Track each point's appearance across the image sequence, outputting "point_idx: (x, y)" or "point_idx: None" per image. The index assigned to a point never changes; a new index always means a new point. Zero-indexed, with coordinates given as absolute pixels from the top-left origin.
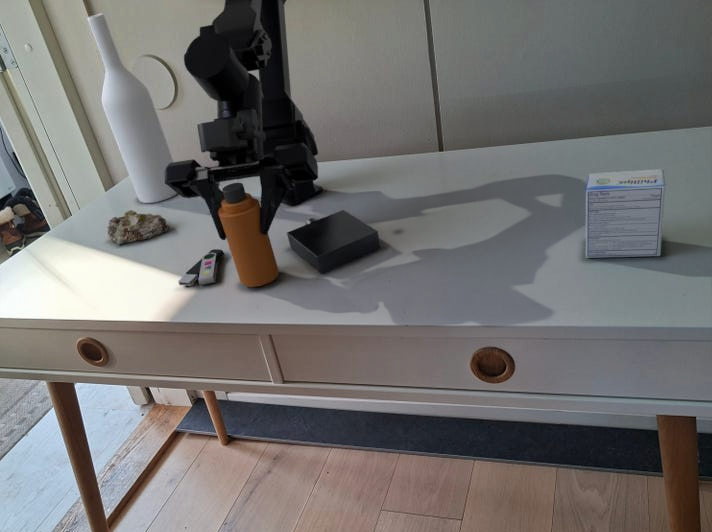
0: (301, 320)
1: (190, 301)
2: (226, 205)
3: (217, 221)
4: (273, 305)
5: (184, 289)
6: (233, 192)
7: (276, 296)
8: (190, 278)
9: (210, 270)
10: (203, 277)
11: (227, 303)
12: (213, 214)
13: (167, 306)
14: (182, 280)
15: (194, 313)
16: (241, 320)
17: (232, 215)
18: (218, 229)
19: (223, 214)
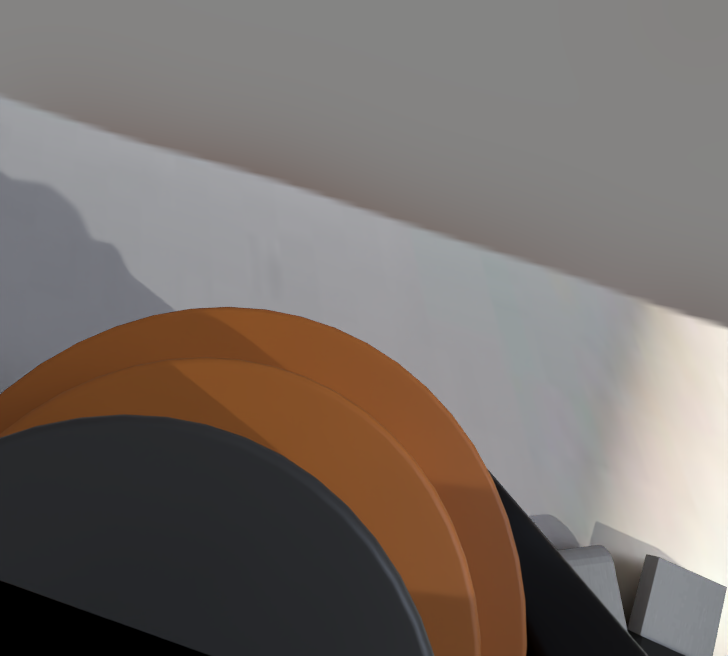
0: (88, 128)
1: (602, 422)
2: (350, 426)
3: (522, 551)
4: (205, 267)
5: (672, 553)
6: (76, 420)
7: None
8: (665, 599)
9: None
10: (589, 570)
11: (418, 349)
12: (598, 629)
13: (700, 412)
14: (705, 590)
15: (552, 314)
16: (334, 201)
17: (276, 328)
18: None
19: (417, 426)
